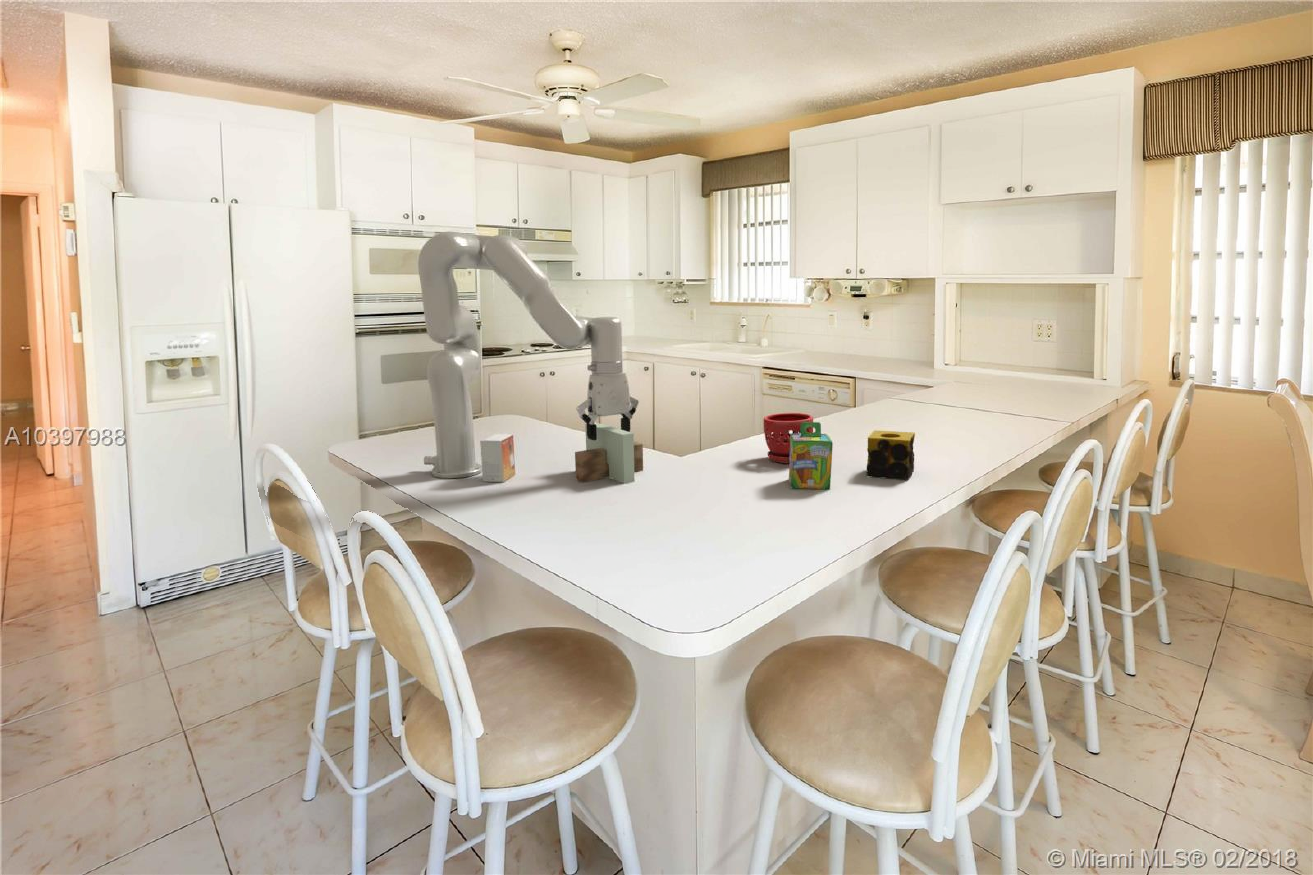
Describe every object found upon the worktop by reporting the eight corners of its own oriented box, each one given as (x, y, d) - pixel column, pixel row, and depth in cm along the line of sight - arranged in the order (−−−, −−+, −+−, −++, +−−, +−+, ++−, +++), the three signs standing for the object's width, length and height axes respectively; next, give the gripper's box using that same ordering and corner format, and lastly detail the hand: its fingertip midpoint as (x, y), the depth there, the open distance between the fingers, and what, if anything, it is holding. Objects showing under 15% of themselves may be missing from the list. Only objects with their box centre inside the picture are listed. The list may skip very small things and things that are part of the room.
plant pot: (797, 452, 207) (798, 410, 204) (821, 463, 195) (823, 418, 192) (754, 456, 203) (755, 413, 200) (777, 467, 191) (778, 422, 188)
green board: (586, 469, 192) (585, 423, 190) (596, 467, 194) (595, 422, 192) (624, 483, 178) (622, 434, 175) (634, 481, 180) (633, 433, 177)
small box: (503, 483, 180) (501, 440, 178) (482, 482, 181) (479, 440, 179) (516, 474, 188) (513, 434, 186) (495, 473, 189) (493, 433, 187)
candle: (914, 471, 185) (916, 432, 183) (909, 481, 176) (911, 440, 174) (872, 467, 190) (874, 429, 188) (865, 477, 181) (867, 437, 179)
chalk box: (791, 489, 171) (792, 426, 168) (788, 479, 180) (789, 419, 177) (831, 490, 170) (833, 427, 167) (826, 479, 179) (828, 419, 176)
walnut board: (582, 482, 180) (581, 454, 178) (575, 479, 182) (574, 452, 181) (643, 470, 190) (642, 443, 188) (636, 468, 192) (636, 442, 191)
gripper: (583, 372, 172) (586, 444, 176) (645, 366, 182) (646, 434, 186) (568, 369, 179) (571, 439, 182) (628, 364, 188) (629, 430, 192)
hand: (609, 436), depth 184 cm, fingers open, 9 cm apart
